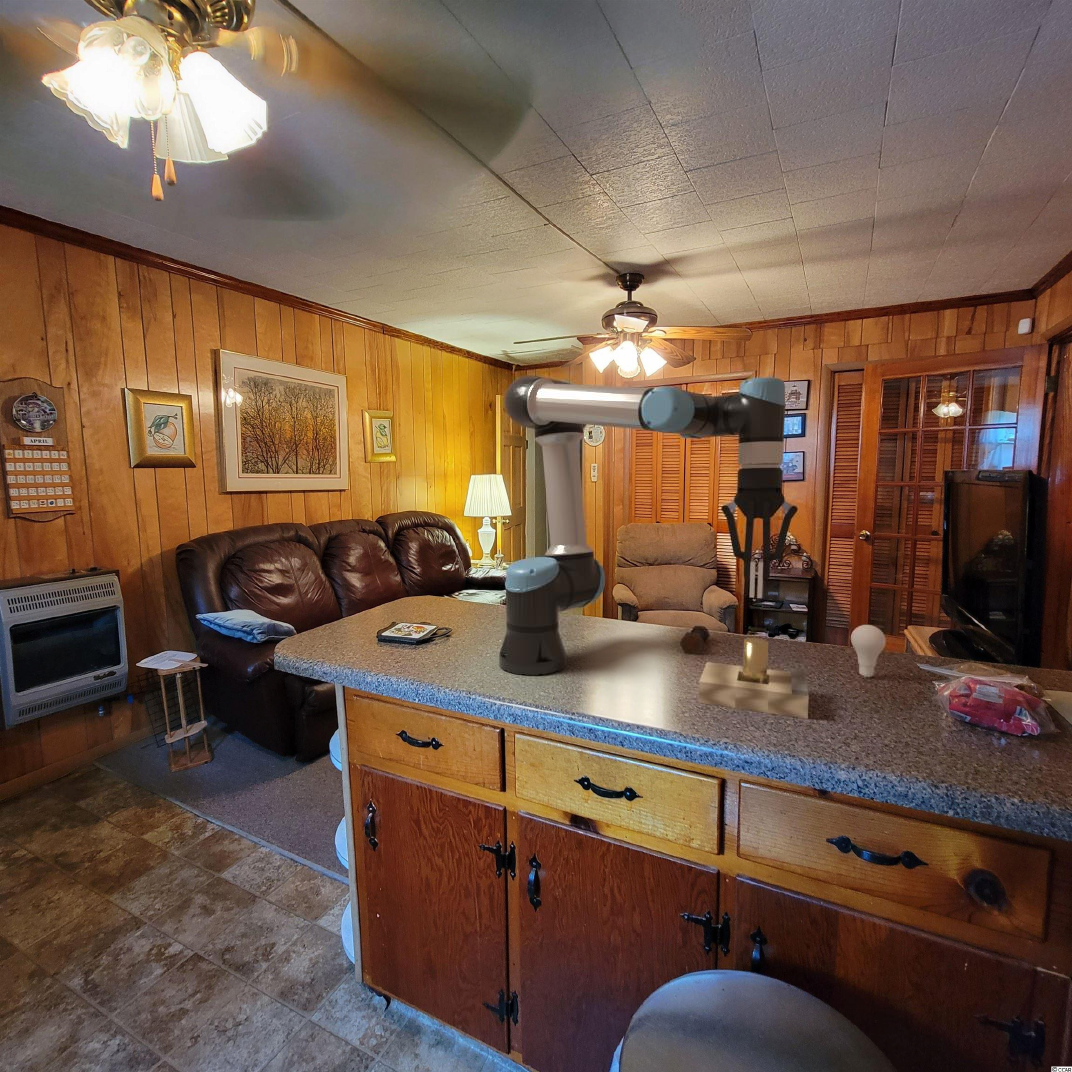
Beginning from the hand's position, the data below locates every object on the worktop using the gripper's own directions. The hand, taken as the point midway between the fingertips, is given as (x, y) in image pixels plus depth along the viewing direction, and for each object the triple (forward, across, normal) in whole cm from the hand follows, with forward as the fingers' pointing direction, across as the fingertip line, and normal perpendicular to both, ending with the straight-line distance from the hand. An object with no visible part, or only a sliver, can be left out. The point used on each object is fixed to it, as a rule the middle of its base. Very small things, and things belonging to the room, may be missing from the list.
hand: (755, 596), depth 101 cm
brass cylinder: (+19, 0, 0) cm, 19 cm away
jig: (+19, 0, 0) cm, 19 cm away
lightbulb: (+20, -21, -21) cm, 36 cm away
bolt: (+20, +14, -30) cm, 39 cm away
